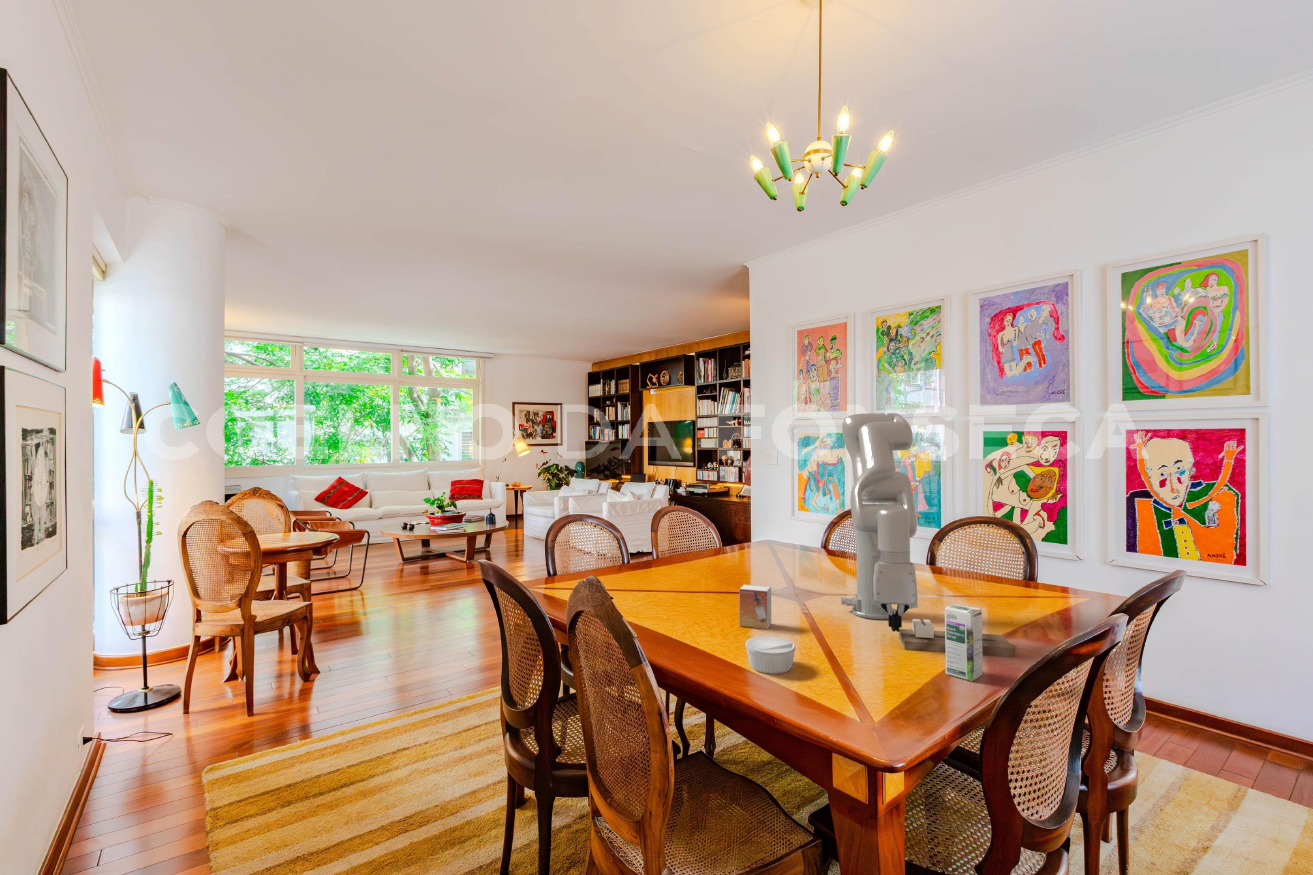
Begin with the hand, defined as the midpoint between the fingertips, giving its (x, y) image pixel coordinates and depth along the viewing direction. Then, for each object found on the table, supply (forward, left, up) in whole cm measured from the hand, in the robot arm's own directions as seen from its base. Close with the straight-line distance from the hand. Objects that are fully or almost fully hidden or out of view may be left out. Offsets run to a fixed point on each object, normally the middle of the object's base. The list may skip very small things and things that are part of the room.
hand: (895, 629), depth 151 cm
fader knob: (+6, 0, -1) cm, 7 cm away
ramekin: (-30, -23, -3) cm, 38 cm away
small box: (-36, +7, -3) cm, 36 cm away
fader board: (+13, 0, -3) cm, 14 cm away
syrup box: (+11, -19, -3) cm, 22 cm away
